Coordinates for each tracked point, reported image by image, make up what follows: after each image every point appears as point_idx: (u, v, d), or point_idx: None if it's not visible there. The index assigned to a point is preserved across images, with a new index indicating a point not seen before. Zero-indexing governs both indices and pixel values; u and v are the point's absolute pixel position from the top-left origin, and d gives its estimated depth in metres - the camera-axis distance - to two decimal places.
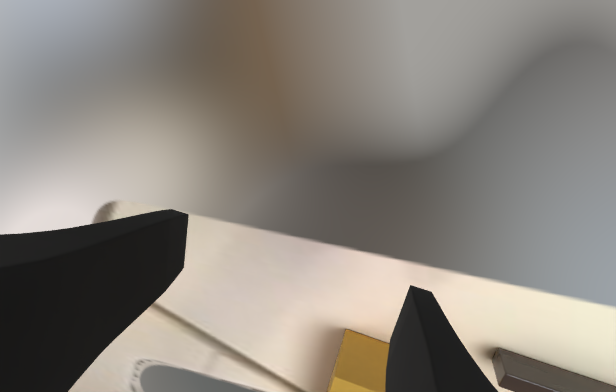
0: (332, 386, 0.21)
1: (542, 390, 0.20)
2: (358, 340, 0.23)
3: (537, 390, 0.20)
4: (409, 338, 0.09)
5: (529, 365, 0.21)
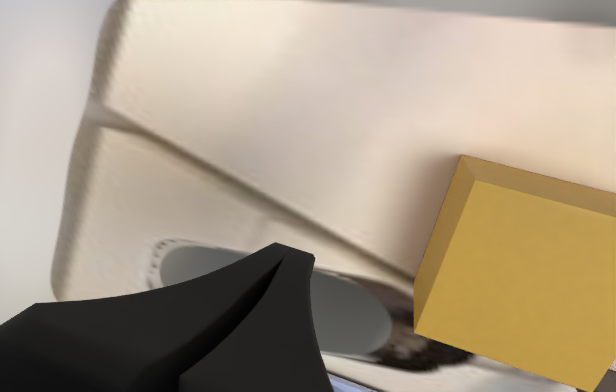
0: (469, 198, 0.13)
1: None
2: (484, 163, 0.16)
3: None
4: None
5: None
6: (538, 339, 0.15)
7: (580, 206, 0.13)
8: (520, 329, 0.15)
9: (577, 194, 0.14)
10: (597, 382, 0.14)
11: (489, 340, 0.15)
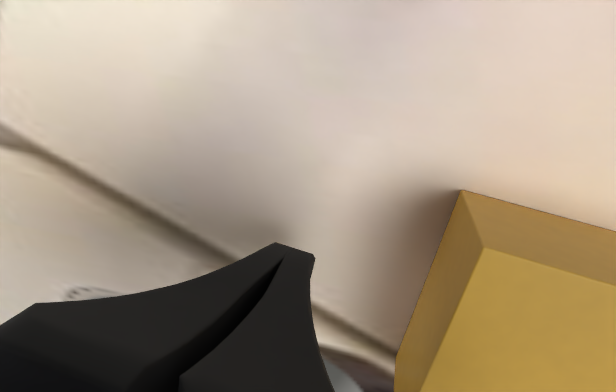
0: (474, 275, 0.08)
1: None
2: (495, 204, 0.11)
3: None
4: None
5: None
6: None
7: None
8: None
9: None
10: None
11: None
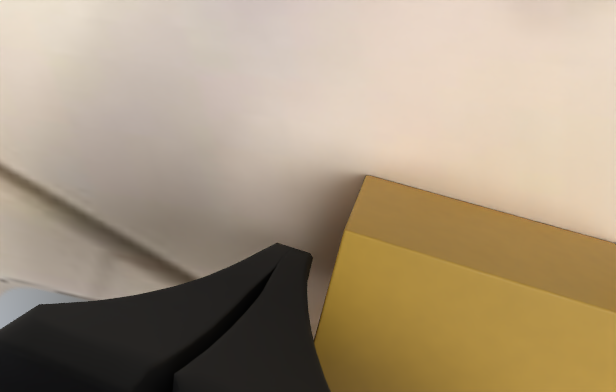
0: (339, 262, 0.08)
1: None
2: (396, 189, 0.10)
3: None
4: None
5: None
6: None
7: (530, 283, 0.07)
8: None
9: (534, 249, 0.08)
10: None
11: None
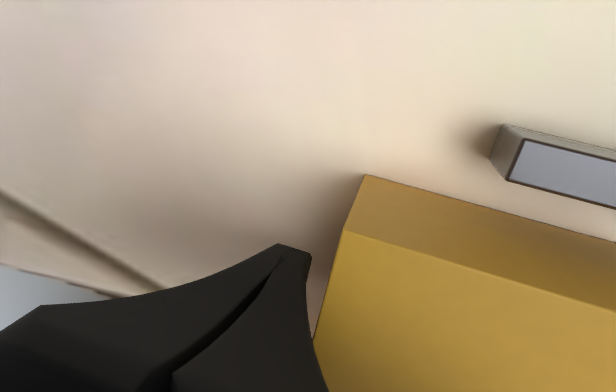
0: (337, 261, 0.08)
1: None
2: (395, 189, 0.10)
3: (603, 177, 0.08)
4: None
5: (578, 144, 0.09)
6: None
7: (528, 282, 0.07)
8: None
9: (533, 248, 0.08)
10: None
11: None
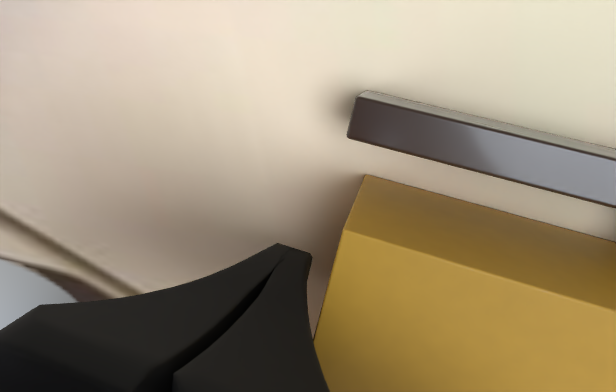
0: (337, 261, 0.08)
1: (440, 129, 0.08)
2: (395, 188, 0.10)
3: (427, 131, 0.08)
4: None
5: (424, 106, 0.09)
6: None
7: (529, 282, 0.07)
8: None
9: (533, 247, 0.08)
10: None
11: None
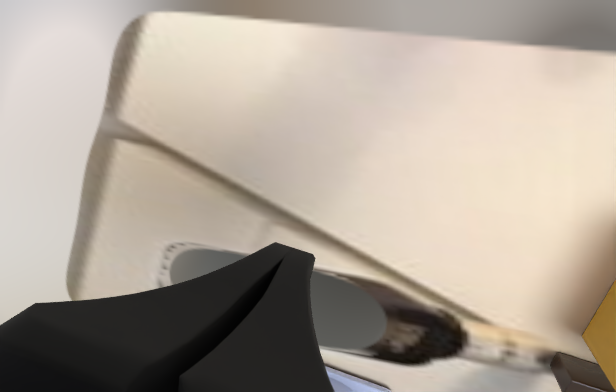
0: None
1: None
2: None
3: None
4: None
5: None
6: None
7: None
8: None
9: None
10: None
11: None
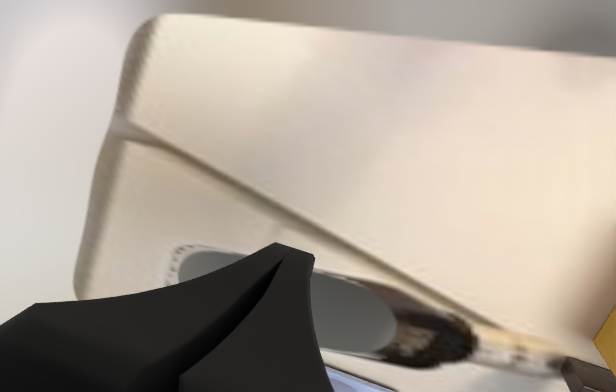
0: None
1: None
2: None
3: None
4: None
5: None
6: None
7: None
8: None
9: None
10: None
11: None
